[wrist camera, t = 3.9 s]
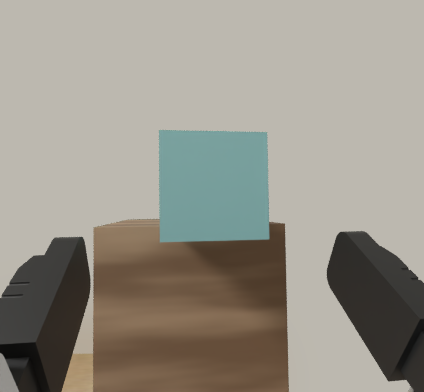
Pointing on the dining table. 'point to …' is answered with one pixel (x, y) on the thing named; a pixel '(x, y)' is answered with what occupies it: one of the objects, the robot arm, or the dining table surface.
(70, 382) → the dining table surface
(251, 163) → the bar
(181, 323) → the stand
